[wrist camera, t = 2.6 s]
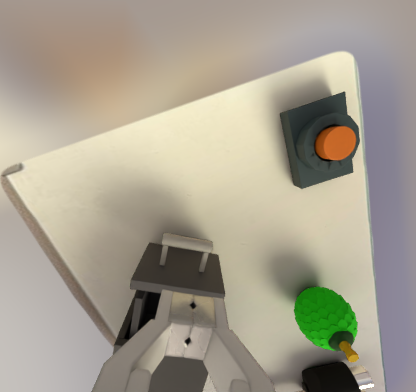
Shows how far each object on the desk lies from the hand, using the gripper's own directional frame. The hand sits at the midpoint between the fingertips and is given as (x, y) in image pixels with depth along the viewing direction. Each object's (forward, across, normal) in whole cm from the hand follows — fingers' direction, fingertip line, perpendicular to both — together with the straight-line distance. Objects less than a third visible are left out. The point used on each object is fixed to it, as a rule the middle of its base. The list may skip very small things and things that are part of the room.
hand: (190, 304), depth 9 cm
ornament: (+19, -23, +13) cm, 32 cm away
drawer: (+18, 0, +12) cm, 21 cm away
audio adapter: (+19, -28, +35) cm, 49 cm away
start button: (+15, -14, -11) cm, 23 cm away
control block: (+19, -14, -11) cm, 26 cm away
